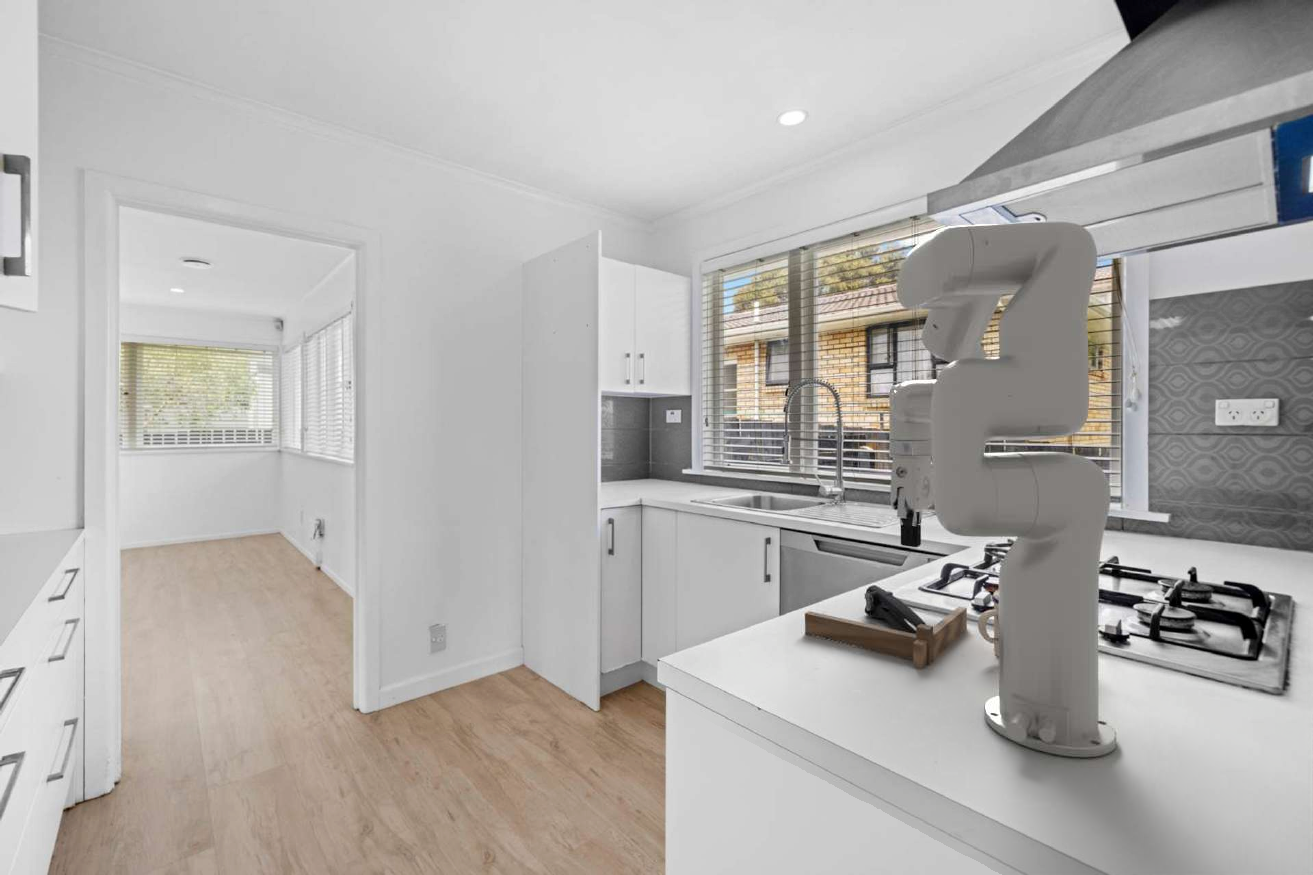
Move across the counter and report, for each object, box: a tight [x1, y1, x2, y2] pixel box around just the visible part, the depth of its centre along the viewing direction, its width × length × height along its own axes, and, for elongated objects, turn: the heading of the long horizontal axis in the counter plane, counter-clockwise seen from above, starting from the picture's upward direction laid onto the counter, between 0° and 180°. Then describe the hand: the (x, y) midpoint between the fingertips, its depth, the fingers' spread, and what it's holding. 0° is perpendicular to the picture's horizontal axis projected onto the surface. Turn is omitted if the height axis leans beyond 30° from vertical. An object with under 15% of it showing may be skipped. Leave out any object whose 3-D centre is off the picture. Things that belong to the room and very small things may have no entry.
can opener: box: [864, 584, 927, 634], centre depth 103 cm, size 18×7×6 cm, turn 3°
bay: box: [804, 606, 968, 670], centre depth 100 cm, size 22×20×5 cm
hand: (910, 545), depth 114 cm, fingers closed
